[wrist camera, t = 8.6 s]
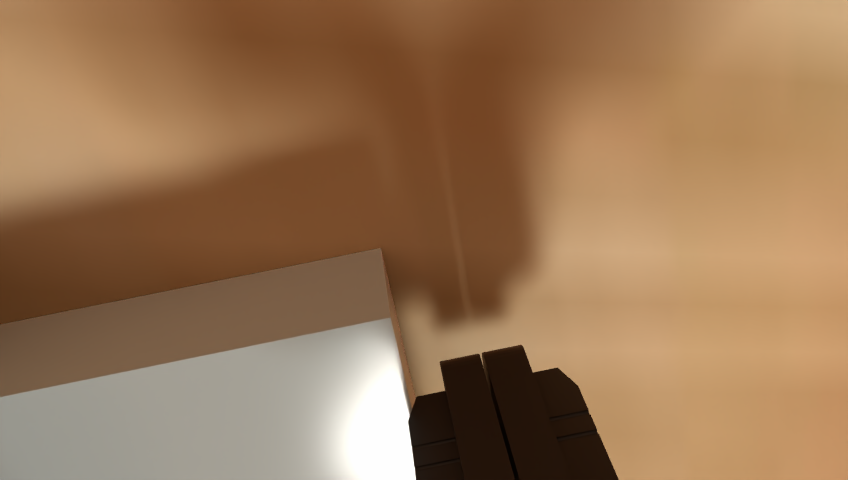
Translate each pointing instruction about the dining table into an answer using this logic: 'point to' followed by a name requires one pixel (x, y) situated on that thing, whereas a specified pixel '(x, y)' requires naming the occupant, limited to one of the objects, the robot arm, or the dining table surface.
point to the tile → (215, 382)
